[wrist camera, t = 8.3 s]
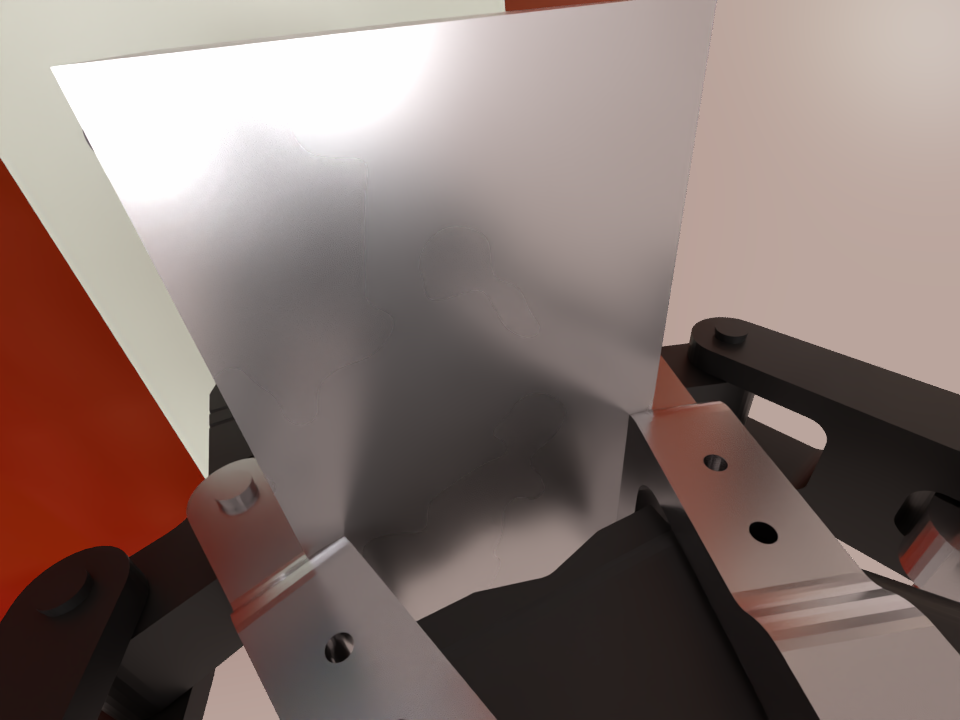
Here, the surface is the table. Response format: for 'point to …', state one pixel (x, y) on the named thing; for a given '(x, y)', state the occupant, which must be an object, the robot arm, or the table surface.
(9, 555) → the table surface
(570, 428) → the plate
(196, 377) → the peg board
